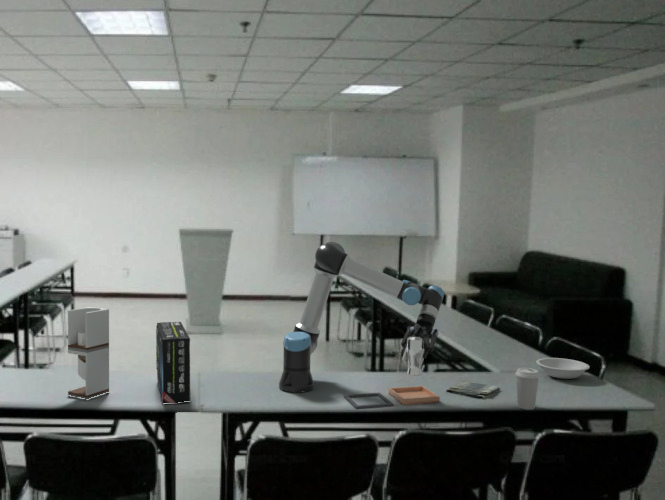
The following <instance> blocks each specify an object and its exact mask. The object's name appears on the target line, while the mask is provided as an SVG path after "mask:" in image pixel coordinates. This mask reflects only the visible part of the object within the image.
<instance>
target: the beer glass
mask: <svg viewBox="0 0 665 500" xmlns="http://www.w3.org/2000/svg"><path fill="white" fill-rule="evenodd" d="M424 347H425V343H424V337H422V336H421V337H411V336H410V337H408V338H407V364H408V367H407V371H406V374H407V375H408V376H412V377H413V376H415V377H417V376H418V377H419V376H422V375H423V373H422V372H423V371H422V370H423V369H422V366H420V365H419V363H418V361H419V358H420V355H421V352H422V350H423V349H425V348H424Z"/></svg>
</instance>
